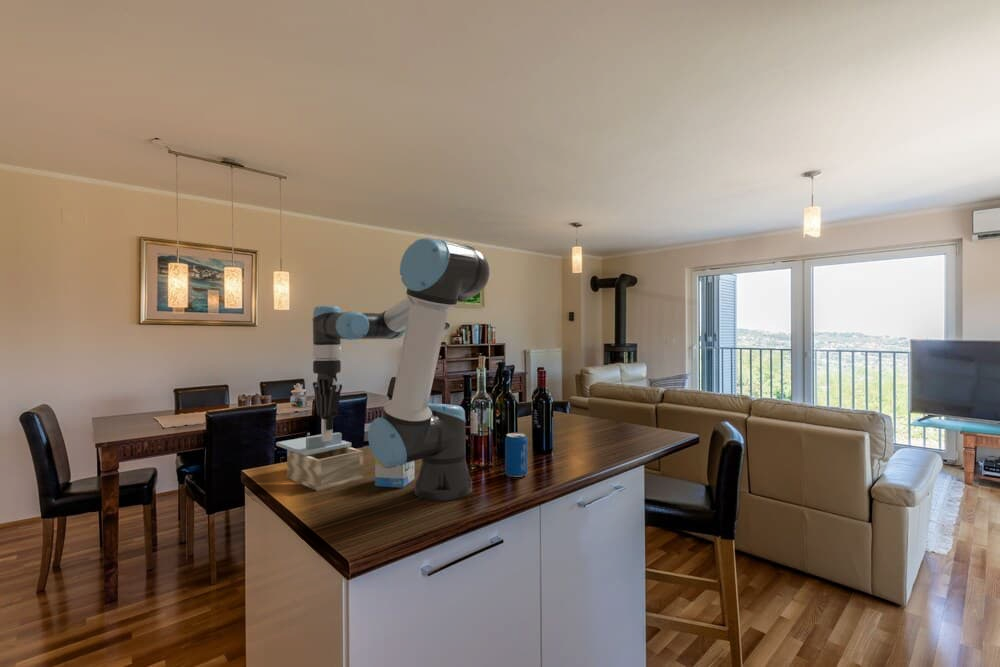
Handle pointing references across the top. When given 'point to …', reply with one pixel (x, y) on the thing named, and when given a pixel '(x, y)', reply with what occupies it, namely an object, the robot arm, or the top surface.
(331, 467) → the open wooden box
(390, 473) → the ink box
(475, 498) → the top surface
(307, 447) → the lid
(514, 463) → the beverage can
